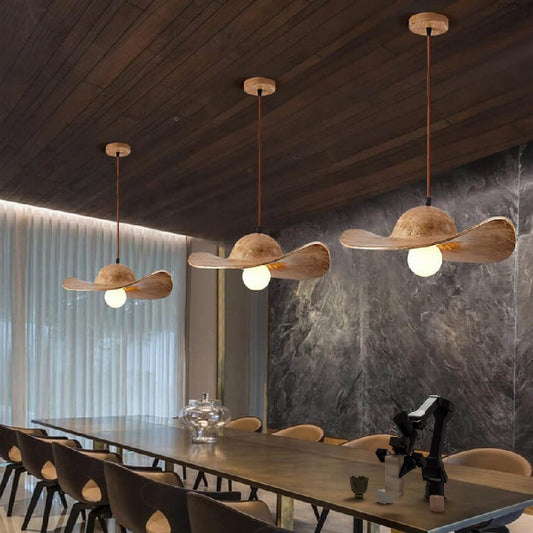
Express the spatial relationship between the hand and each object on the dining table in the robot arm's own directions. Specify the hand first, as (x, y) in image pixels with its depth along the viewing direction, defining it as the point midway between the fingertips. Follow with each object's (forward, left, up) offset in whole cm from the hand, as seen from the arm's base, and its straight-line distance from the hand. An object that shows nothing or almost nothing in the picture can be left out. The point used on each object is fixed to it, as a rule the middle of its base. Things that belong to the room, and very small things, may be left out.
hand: (392, 476), depth 257 cm
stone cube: (-5, -15, -13) cm, 20 cm away
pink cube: (-17, +2, -13) cm, 21 cm away
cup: (+1, -25, -13) cm, 28 cm away
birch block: (-1, -1, -7) cm, 7 cm away
